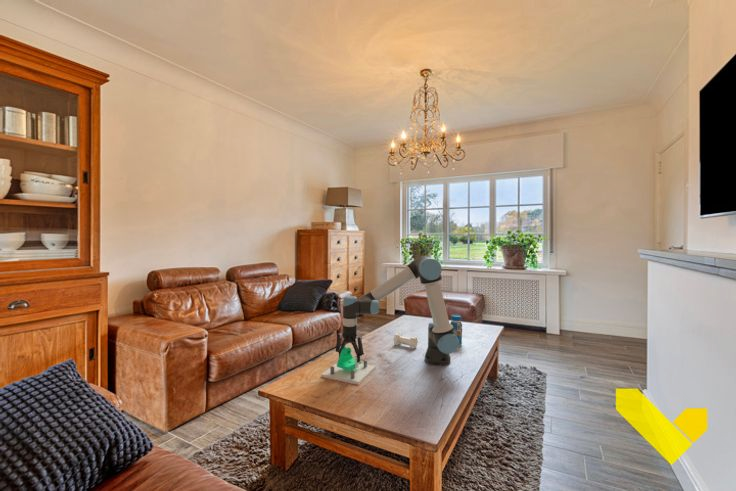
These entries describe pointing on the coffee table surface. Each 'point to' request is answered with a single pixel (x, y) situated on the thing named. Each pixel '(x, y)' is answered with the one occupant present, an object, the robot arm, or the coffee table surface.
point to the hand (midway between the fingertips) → (349, 366)
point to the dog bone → (405, 340)
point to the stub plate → (349, 373)
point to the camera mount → (346, 359)
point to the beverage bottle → (457, 327)
